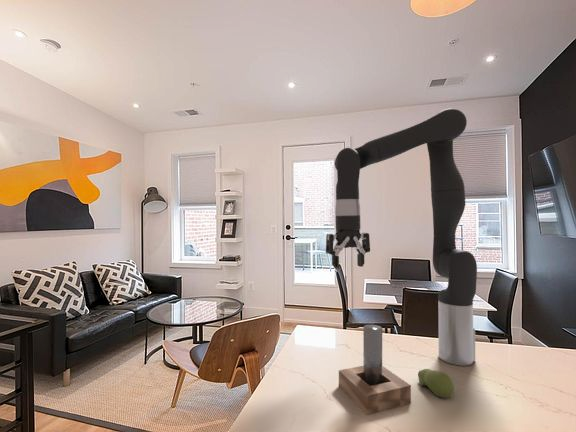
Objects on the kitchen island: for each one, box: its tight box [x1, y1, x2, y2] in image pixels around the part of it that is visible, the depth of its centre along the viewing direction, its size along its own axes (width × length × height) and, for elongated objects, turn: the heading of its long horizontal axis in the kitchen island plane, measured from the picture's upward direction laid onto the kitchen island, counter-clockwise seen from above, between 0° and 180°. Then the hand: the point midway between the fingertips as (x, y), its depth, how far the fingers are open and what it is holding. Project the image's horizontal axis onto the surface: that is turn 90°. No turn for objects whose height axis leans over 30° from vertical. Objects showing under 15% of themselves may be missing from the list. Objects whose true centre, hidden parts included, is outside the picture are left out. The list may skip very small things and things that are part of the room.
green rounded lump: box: [417, 368, 456, 399], centre depth 76 cm, size 6×5×10 cm
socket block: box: [338, 365, 412, 415], centre depth 74 cm, size 12×12×4 cm
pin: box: [362, 324, 383, 386], centre depth 74 cm, size 4×4×16 cm
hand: (348, 267), depth 95 cm, fingers open, 8 cm apart
